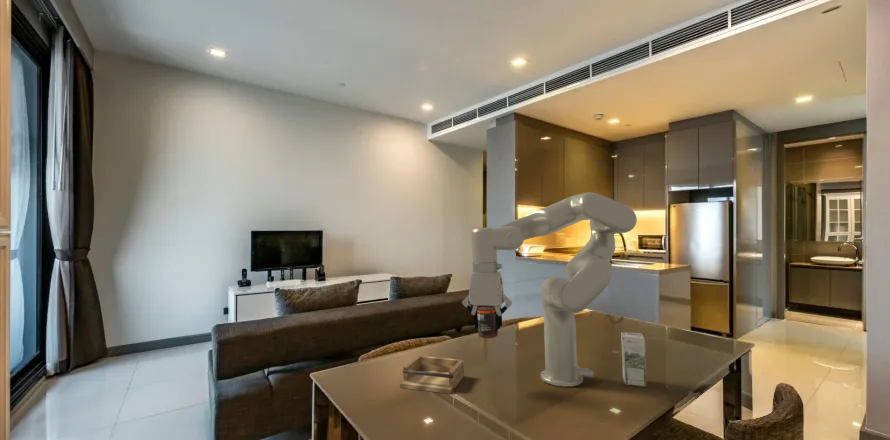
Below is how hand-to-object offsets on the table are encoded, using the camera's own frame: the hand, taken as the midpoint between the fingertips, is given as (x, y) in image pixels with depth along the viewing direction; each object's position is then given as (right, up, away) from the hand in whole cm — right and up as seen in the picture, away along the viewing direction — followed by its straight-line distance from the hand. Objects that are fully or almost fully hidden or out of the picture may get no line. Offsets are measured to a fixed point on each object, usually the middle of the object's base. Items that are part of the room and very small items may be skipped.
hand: (487, 327), depth 110 cm
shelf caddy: (-17, -18, +3) cm, 25 cm away
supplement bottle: (0, -3, 0) cm, 3 cm away
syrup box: (+44, -17, 0) cm, 48 cm away
